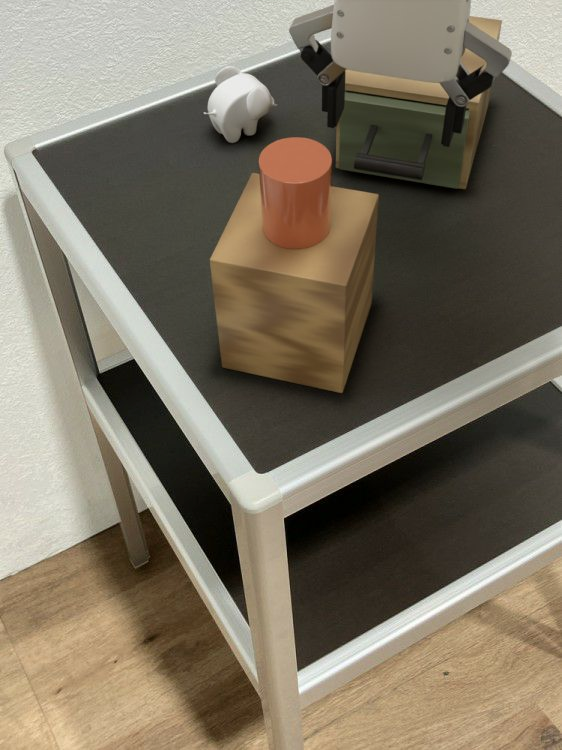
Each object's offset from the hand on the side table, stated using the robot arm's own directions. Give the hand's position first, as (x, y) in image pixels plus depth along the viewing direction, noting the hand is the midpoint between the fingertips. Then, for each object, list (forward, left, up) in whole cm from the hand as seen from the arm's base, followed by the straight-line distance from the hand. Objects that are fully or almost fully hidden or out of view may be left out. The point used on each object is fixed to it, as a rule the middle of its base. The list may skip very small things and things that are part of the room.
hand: (391, 127), depth 81 cm
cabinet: (0, -12, -10) cm, 16 cm away
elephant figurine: (+17, -9, -10) cm, 22 cm away
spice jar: (+4, +16, +2) cm, 17 cm away
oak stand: (+4, +16, -10) cm, 19 cm away
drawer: (0, -8, -9) cm, 12 cm away
